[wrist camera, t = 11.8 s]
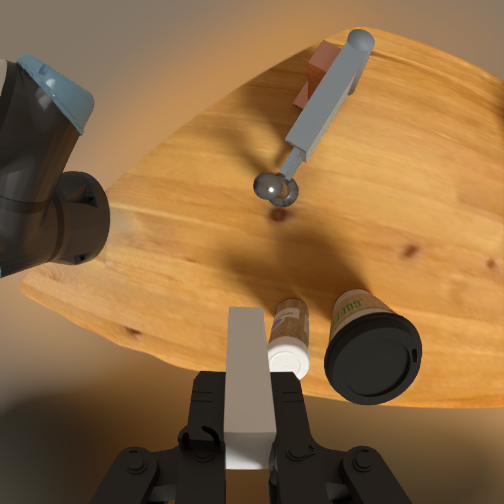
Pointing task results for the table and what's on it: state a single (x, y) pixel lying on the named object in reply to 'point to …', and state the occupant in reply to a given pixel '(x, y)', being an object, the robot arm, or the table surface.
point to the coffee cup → (370, 350)
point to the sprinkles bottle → (290, 339)
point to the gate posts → (277, 186)
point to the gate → (327, 99)
